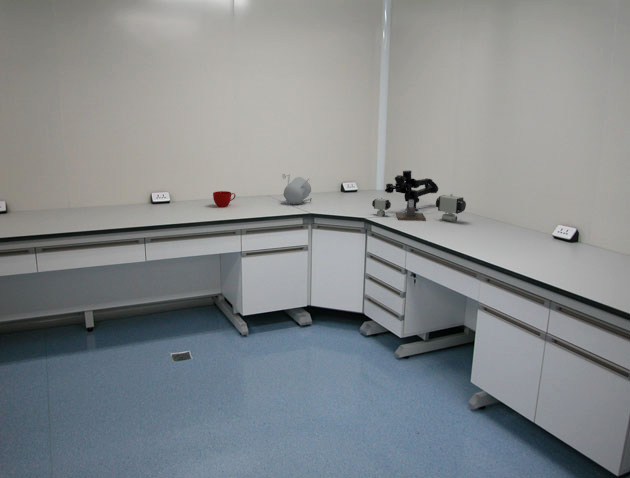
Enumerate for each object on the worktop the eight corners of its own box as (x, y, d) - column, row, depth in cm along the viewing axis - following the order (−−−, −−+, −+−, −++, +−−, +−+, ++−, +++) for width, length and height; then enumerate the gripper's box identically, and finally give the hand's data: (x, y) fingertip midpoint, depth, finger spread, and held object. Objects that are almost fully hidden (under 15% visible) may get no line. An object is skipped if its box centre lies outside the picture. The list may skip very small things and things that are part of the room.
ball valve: (465, 222, 351) (467, 195, 347) (459, 224, 345) (461, 196, 341) (440, 218, 363) (442, 191, 358) (434, 220, 357) (436, 193, 352)
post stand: (395, 214, 372) (396, 204, 370) (422, 215, 371) (422, 205, 369) (398, 220, 355) (398, 209, 353) (425, 220, 354) (426, 210, 352)
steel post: (407, 214, 364) (408, 199, 362) (412, 214, 364) (413, 199, 361) (408, 215, 361) (409, 200, 359) (413, 215, 361) (414, 200, 358)
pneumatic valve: (387, 217, 364) (388, 199, 361) (371, 215, 369) (372, 197, 366) (390, 215, 368) (391, 198, 365) (374, 213, 374) (375, 196, 371)
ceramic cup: (239, 206, 393) (239, 192, 391) (217, 208, 384) (217, 194, 382) (231, 203, 404) (231, 190, 401) (210, 205, 395) (209, 192, 392)
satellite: (273, 182, 396) (302, 187, 385) (287, 169, 409) (316, 174, 398) (278, 207, 410) (306, 214, 398) (292, 194, 423) (320, 200, 411)
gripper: (392, 174, 380) (378, 178, 370) (414, 174, 367) (400, 179, 357) (394, 190, 383) (380, 194, 373) (415, 191, 369) (401, 195, 359)
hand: (390, 190), depth 365 cm, fingers open, 9 cm apart
